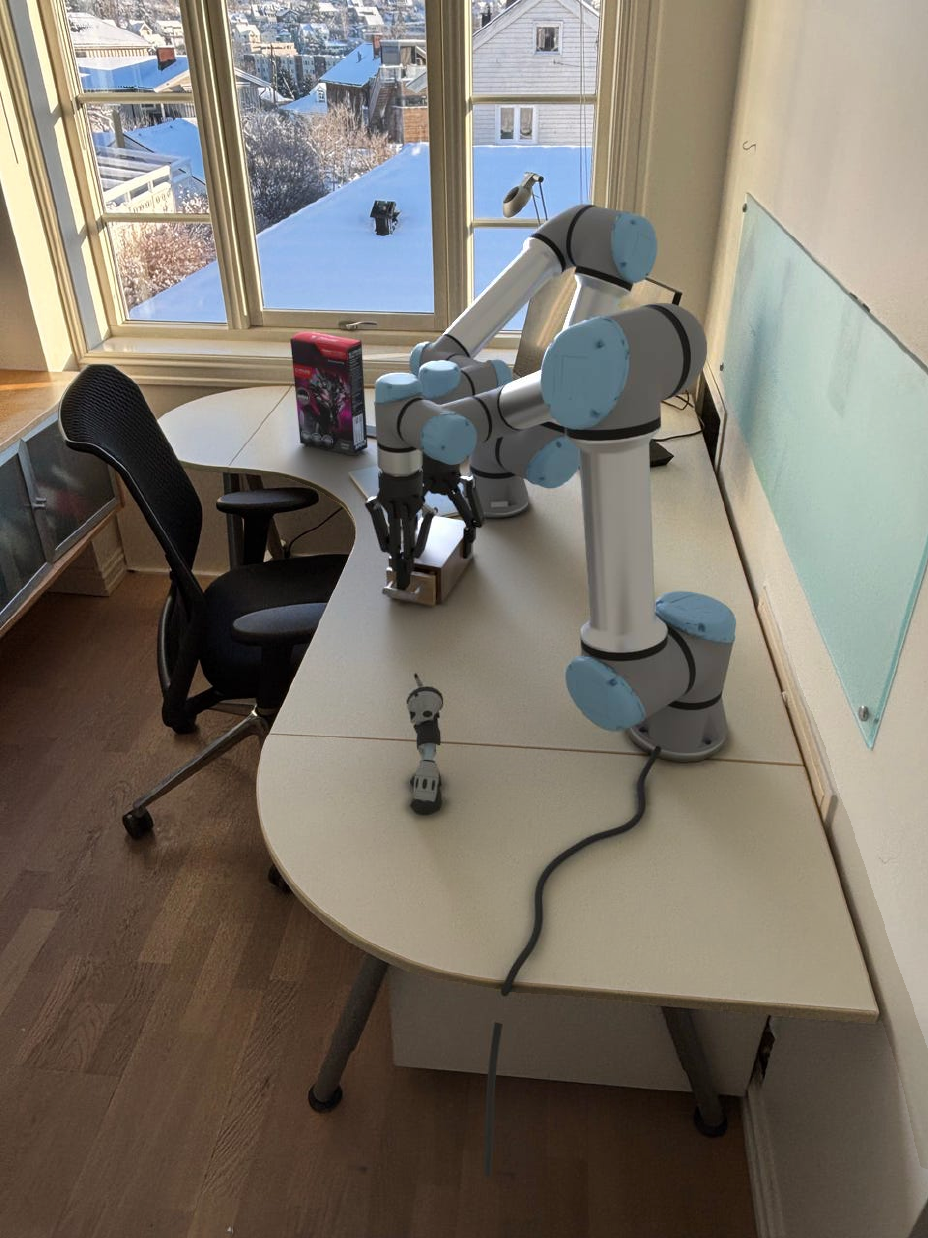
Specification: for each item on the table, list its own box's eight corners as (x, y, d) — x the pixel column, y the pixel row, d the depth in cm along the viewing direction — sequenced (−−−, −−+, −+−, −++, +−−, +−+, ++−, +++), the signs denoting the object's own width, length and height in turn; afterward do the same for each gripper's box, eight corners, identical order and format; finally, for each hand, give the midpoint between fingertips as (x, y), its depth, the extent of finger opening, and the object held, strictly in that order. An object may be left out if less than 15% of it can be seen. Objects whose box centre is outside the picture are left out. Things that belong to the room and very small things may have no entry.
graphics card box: (297, 444, 233) (287, 336, 218) (313, 435, 239) (304, 329, 223) (354, 457, 227) (347, 347, 212) (369, 447, 232) (364, 339, 217)
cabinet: (441, 603, 173) (441, 567, 168) (389, 593, 176) (388, 557, 171) (472, 556, 187) (473, 522, 183) (424, 548, 190) (424, 513, 186)
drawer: (423, 621, 166) (422, 593, 163) (376, 611, 169) (374, 584, 165) (464, 560, 184) (464, 534, 181) (420, 553, 186) (420, 527, 183)
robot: (446, 845, 123) (445, 731, 112) (409, 846, 123) (405, 732, 112) (441, 747, 139) (440, 638, 128) (409, 747, 139) (405, 639, 128)
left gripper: (504, 448, 171) (501, 551, 183) (390, 431, 177) (394, 532, 189) (492, 464, 165) (489, 570, 177) (374, 446, 171) (379, 549, 183)
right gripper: (444, 464, 155) (444, 583, 168) (373, 452, 158) (378, 570, 172) (428, 483, 149) (429, 604, 163) (355, 470, 153) (362, 590, 166)
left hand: (440, 550), depth 183 cm, fingers closed on cabinet, 10 cm apart
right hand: (403, 586), depth 167 cm, fingers closed
